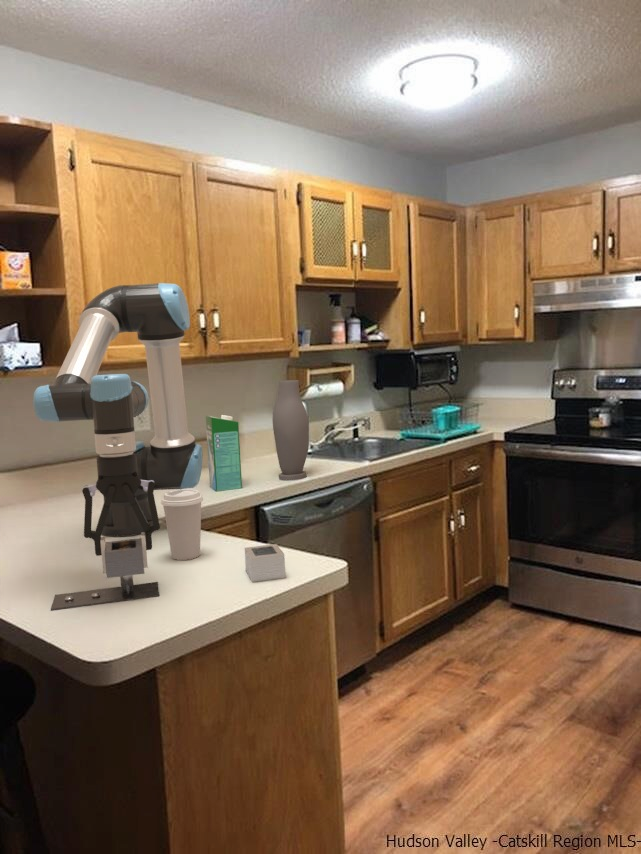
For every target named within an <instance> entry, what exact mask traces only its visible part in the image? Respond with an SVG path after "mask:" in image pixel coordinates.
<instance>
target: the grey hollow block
mask: <svg viewBox="0 0 641 854" xmlns="http://www.w3.org/2000/svg"><path fill="white" fill-rule="evenodd" d="M105 544H106V547H105V564H106V573H105V574H106V579H112V578H113V579H114V578H120V577H121V576H129V575H133V576H134V575H135V576H137V575H143V574H145V568H144V562H143V550H142V538H141V537H139V538H138V537H137V538H129V539H122V540H120V539H119V540H111V541H105ZM124 547H129V548H128V549H120V548H124ZM118 549H119V550H118Z"/></svg>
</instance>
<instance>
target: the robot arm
mask: <svg viewBox="0 0 641 854" xmlns="http://www.w3.org/2000/svg"><path fill="white" fill-rule="evenodd" d="M187 302H188V301H187V299H186V296H185V294H184V291H183V290H182V288H181V287H180V286H179V285H178V284H177V283H167V282H166V283H165V282H164V283H163V282H159V283H144V284H129V285H127V284H124V285H123V284H122V285H115V286H113V287H110V288H107V289H106V290H104V291H102V292H100V293H99V294H97V295H95V297H93V298H92V299H91V300H90V301H89V302H88V303H87V304H86V305H85V307H84V308H83V310H82V312H81V313H80V316H79V318H78V327H79V328H78V330H77V333H76V334H75V336H74V339H73V340H72V343H71V345H70V347H69V350H68V352H67V354H66V356H65V358H64V360H63V361H62V362H63V363H62V365H61V367H60V369H59V371H58V373H57V375H56V377H55V379H54V381H53V383H52V384H46V385H40V386H38V387H37V388H36V389H35V390H34V393H33V399H32V400H33V401H32V402H33V403H32V404H33V409H34V412H35V415H36V417H37V418H38V419H39V420H40V421H41V422H58V423H60V422H73V421H76V422H77V421H90V420H93V421H92V422H93V429H94V431H93V432H94V444H95V453H96V454H98V456H97V457H96V467H97V468H96V469H97V480H96V482H95V484H91V485H84V486H83V488H82V495H83V498H84V501H85V502H84V520H83V521H84V523H83V537H84V538H85V539H91V540H93V541H94V542H93V543H94V551H95V555H96V557H98V556H99V557H100V556H101V563H102V565H101V566H102V574H106V564H105V547H106V537H128V536H129V537H130V536H136V535H141V536H140V538H142V550H143V562H144V569H146V568H147V569H148V567H149V566H148V565H149V564H148V553H147V551H149V550H150V551H151V550H152V549H153V542H152V539H153V538H152V534H153V533H154V532H156V531H159V530H161V525H160V520H159V514H158V511H157V510H158V509H157V505H156V499H155V495H154V491H161V490H162V491H164V490H180V489H194V488H195V487H197V485H199V483H200V479H201V475H202V469H203V468H202V467H203V447H202V445H201V444H198V443H196V438H195V436H194V435H192V434H191V433H190V432H189V428H188V427H189V426H188V417H187V415H188V414H187V408H186V399H185V398H186V397H185V387H184V386H185V385H184V376H183V367H182V357H181V356H182V355H181V348H180V343H181V341H182V340H184V338H185V331H187V330H189V328H190V326H191V321H190V319H191V318H190V309H189V305H188V303H187ZM121 333H136V334H137V340H138V341H139V343H141V344H142V345H143V346H144V349H145V358H146V359H145V360H146V367H147V375H148V382H149V383H148V384H149V392H150V393H148V391H147V389H146V387H145V386H144V385H142V383H139V382H137V381H134V380H131V377H130V375H128V374H127V373H110V374H98V373H99V370H100V367H101V365H102V363H103V361H104V359H105V355H106V353H107V351H108V348H109V347H110V346H109V345H110V343H111V342H112V341H113V340H115V339H116V338H117V337H118V335H119V334H121ZM149 394H150V397H149ZM149 400H151V401H150V402H151V408H152V409H151V410H152V411H151V412H152V418H153V426H154V427H153V428H154V437H153V438H152V439H151V440H150V441H149V442H150V443H149V444H150V446H146V443H145V442H144V441H136V429H135V419H134V418H136V417H139V416H140V415H141V414H143V413H144V412H145V410H146V409H147V407H148V405H149ZM97 490H98V492H100V493H101V495H103V505H102V508H101V510H100V511H101V512H100V514H99V518H98V522H97V524H96V527H95V530H92V515H93V497H94V496H95V495H96V491H97Z"/></svg>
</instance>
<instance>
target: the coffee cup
mask: <svg viewBox="0 0 641 854" xmlns="http://www.w3.org/2000/svg"><path fill="white" fill-rule="evenodd" d="M203 501H204V498H203V495H202V494H201V493H200V491H199V490H198V489H194V488H186V489H172V490H170V491H166V492H165V493H164V494H163V497H162V498H161V501H160V504H161V505H162V506H163V510H164V516H165V517H164V518H165V523H166V529H167V535H168V536H167V537H168V542H169V548H170V554H171V559H173V560H175V559H177V561H188V560H187V559H189V560H193V558H194V559H197V558H198V556H199V557H200V556H201V531H202V530H201V529H202V528H201V527H202V526H201V524H202V519H201V518H202V502H203ZM196 557H197V558H196Z"/></svg>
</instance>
